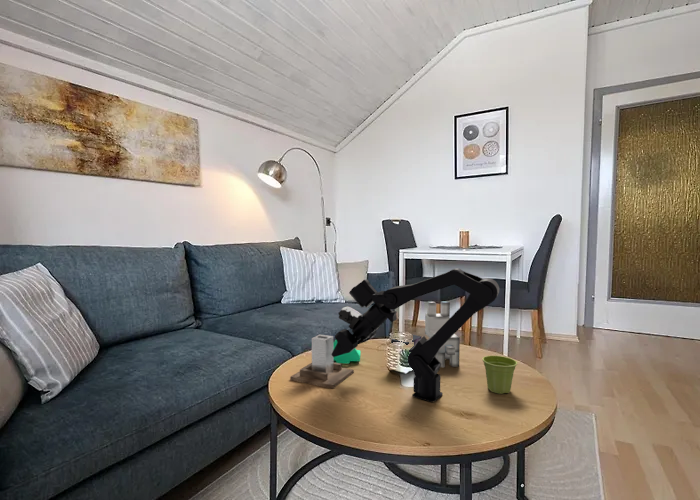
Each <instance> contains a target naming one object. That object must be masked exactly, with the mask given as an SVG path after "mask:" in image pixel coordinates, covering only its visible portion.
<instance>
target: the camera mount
mask: <svg viewBox="0 0 700 500" xmlns="http://www.w3.org/2000/svg"><path fill="white" fill-rule="evenodd" d="M336 345H337V340H336V339H335V340H333V350H334V348H335V347H336ZM361 354H362V352H361V349H357V347H356V348H355V349H354V350H352V351H351V352H349V353H346V354H342V355H339V356H336V357H333V362H335V363H340V364H344V365H345V364H350V362H361Z"/></svg>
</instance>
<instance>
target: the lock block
mask: <svg viewBox="0 0 700 500" xmlns="http://www.w3.org/2000/svg"><path fill="white" fill-rule="evenodd" d="M333 343H334V335H327V334H318V335H316V336H314V337H311V363H312V370H313V371H319V372H324V373H328V375H330V374H331V373H333V372H334V365H333V362H334V361H333V356H332V355H331V354H332V352H333Z"/></svg>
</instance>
